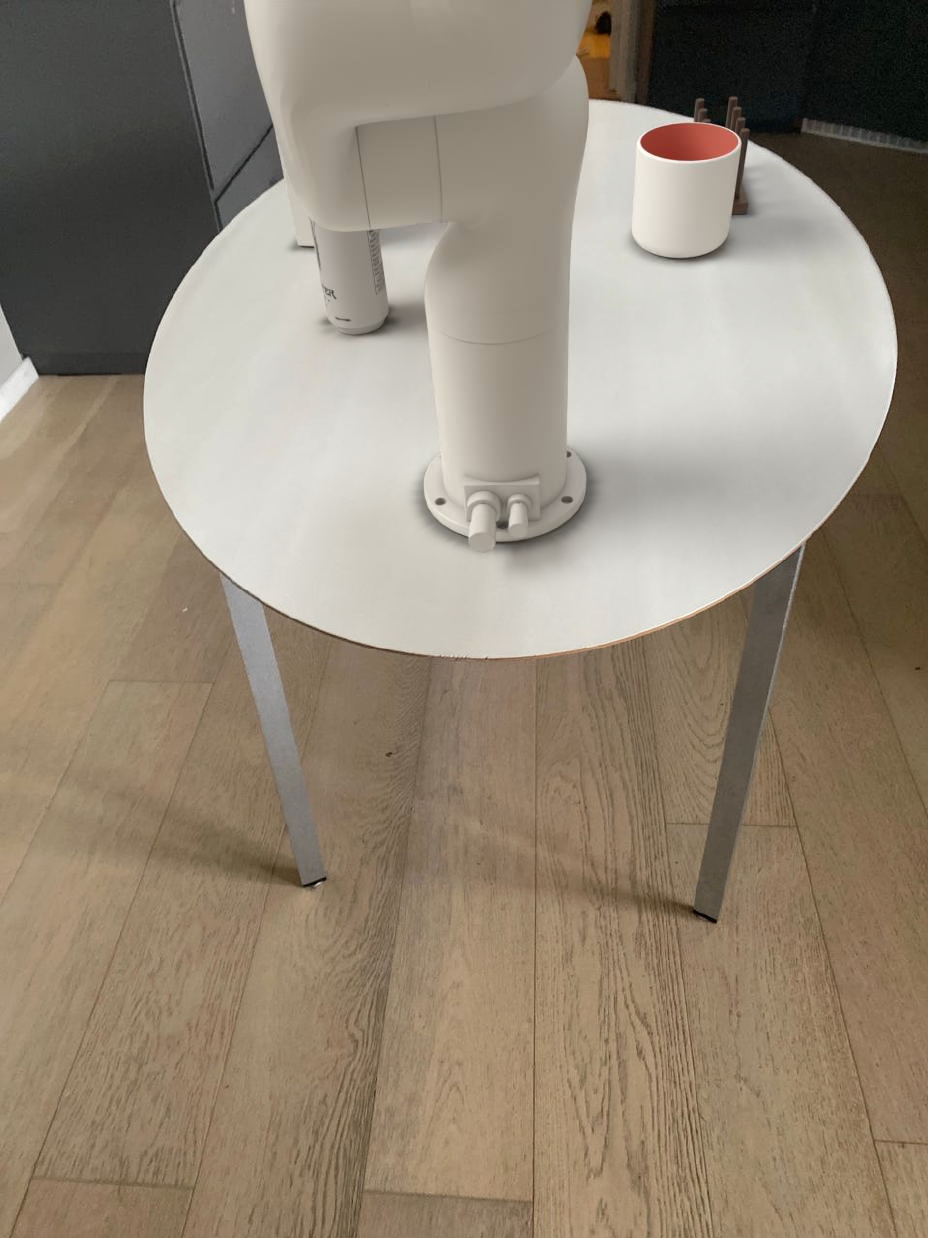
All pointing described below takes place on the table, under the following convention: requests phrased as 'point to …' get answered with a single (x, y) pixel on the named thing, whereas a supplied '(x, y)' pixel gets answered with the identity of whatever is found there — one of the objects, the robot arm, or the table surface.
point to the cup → (684, 188)
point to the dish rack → (737, 126)
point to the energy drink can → (351, 278)
